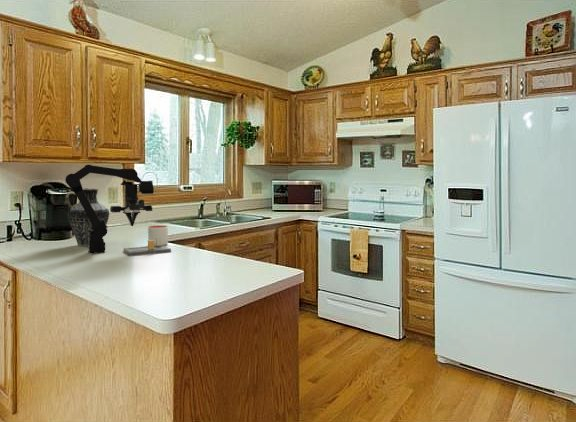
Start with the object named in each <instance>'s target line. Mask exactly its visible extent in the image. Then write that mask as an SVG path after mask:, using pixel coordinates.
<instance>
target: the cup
mask: <svg viewBox="0 0 576 422" xmlns="http://www.w3.org/2000/svg"><path fill="white" fill-rule="evenodd" d="M147 237H148V238H147V239H148V240H147V242H148V241H149V240H154V246H156V237H161V238H162V245H164V246H167V245H168V244H169V227H168V225H149V226H148V227H147Z"/></svg>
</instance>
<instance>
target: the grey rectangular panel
mask: <svg viewBox="0 0 576 422" xmlns="http://www.w3.org/2000/svg"><path fill="white" fill-rule="evenodd" d="M171 251H172V248H170V247H168V246H167V245H165V246H164V245H161V246H154V249H148V245H147V246H137V247H135V246H134V247H127V248H126V247H124V248H123V252H124V253H125V254H127V256H130V257H132V256H142V255H153V254H163V253H171Z"/></svg>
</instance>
